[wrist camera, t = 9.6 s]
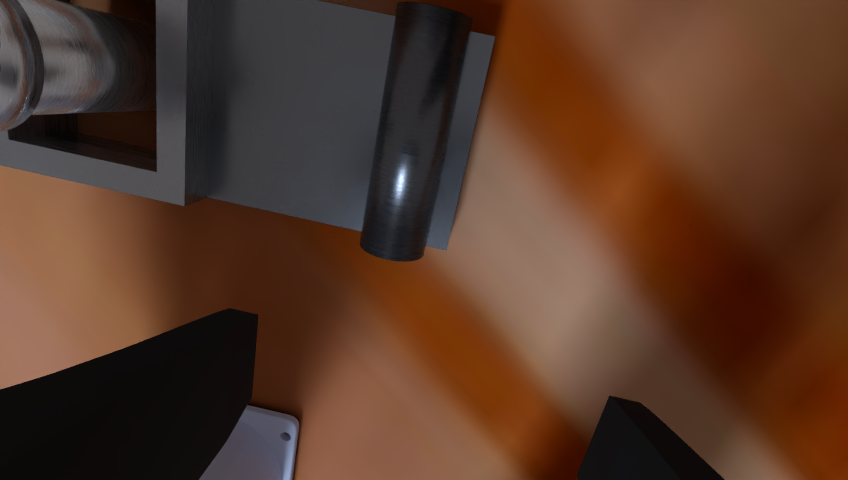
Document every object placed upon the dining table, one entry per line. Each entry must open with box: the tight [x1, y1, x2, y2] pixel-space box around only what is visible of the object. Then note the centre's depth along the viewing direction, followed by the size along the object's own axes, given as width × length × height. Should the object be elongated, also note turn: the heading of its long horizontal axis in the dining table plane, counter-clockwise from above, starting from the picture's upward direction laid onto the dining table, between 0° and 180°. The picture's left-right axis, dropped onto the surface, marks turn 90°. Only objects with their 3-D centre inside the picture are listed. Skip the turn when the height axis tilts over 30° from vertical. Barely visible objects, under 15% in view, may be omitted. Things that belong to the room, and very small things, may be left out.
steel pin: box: [0, 0, 157, 132], centre depth 13 cm, size 4×4×7 cm
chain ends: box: [0, 0, 495, 261], centre depth 15 cm, size 8×26×3 cm, turn 79°
